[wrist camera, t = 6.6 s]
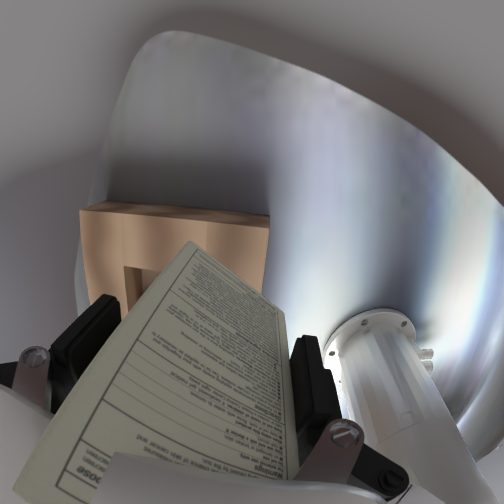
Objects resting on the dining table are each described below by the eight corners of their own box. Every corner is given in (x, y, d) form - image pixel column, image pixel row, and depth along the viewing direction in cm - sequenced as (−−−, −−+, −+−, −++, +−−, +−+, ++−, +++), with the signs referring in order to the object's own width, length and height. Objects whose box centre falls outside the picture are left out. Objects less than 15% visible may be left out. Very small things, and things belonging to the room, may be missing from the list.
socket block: (269, 215, 26) (269, 228, 22) (250, 359, 33) (247, 387, 28) (105, 200, 27) (79, 210, 22) (119, 334, 33) (102, 356, 28)
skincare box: (147, 295, 14) (12, 489, 2) (192, 233, 13) (-4, 483, 1) (238, 361, 15) (203, 572, 3) (293, 313, 14) (312, 577, 2)
